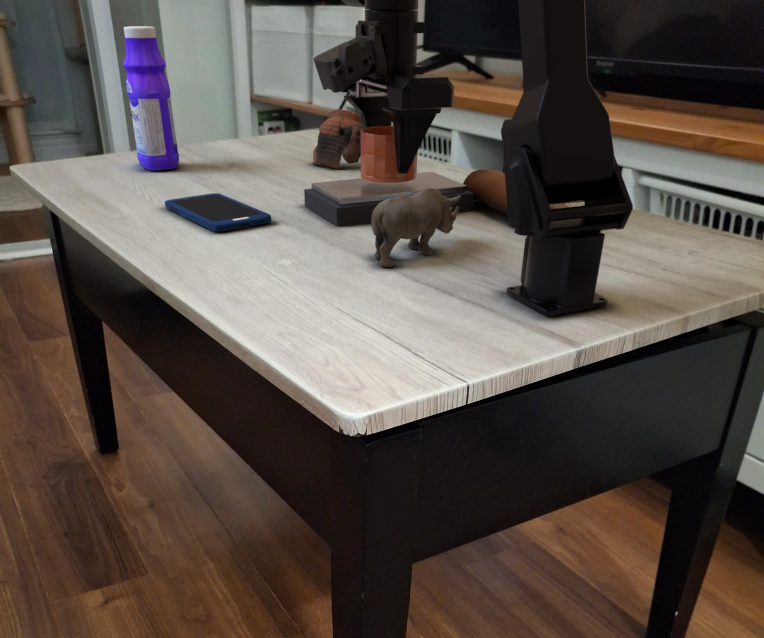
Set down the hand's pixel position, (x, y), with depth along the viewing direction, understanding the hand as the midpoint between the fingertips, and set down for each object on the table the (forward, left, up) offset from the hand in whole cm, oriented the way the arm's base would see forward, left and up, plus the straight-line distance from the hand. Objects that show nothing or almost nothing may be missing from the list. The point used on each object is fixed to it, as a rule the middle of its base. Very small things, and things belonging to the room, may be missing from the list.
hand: (389, 167), depth 90 cm
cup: (0, 0, -1) cm, 1 cm away
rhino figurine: (-17, +5, -5) cm, 18 cm away
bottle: (+35, +20, -5) cm, 41 cm away
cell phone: (+5, +20, -5) cm, 21 cm away
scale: (0, 0, -5) cm, 5 cm away
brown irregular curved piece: (+26, -6, -5) cm, 27 cm away
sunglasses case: (-10, -13, -5) cm, 17 cm away
